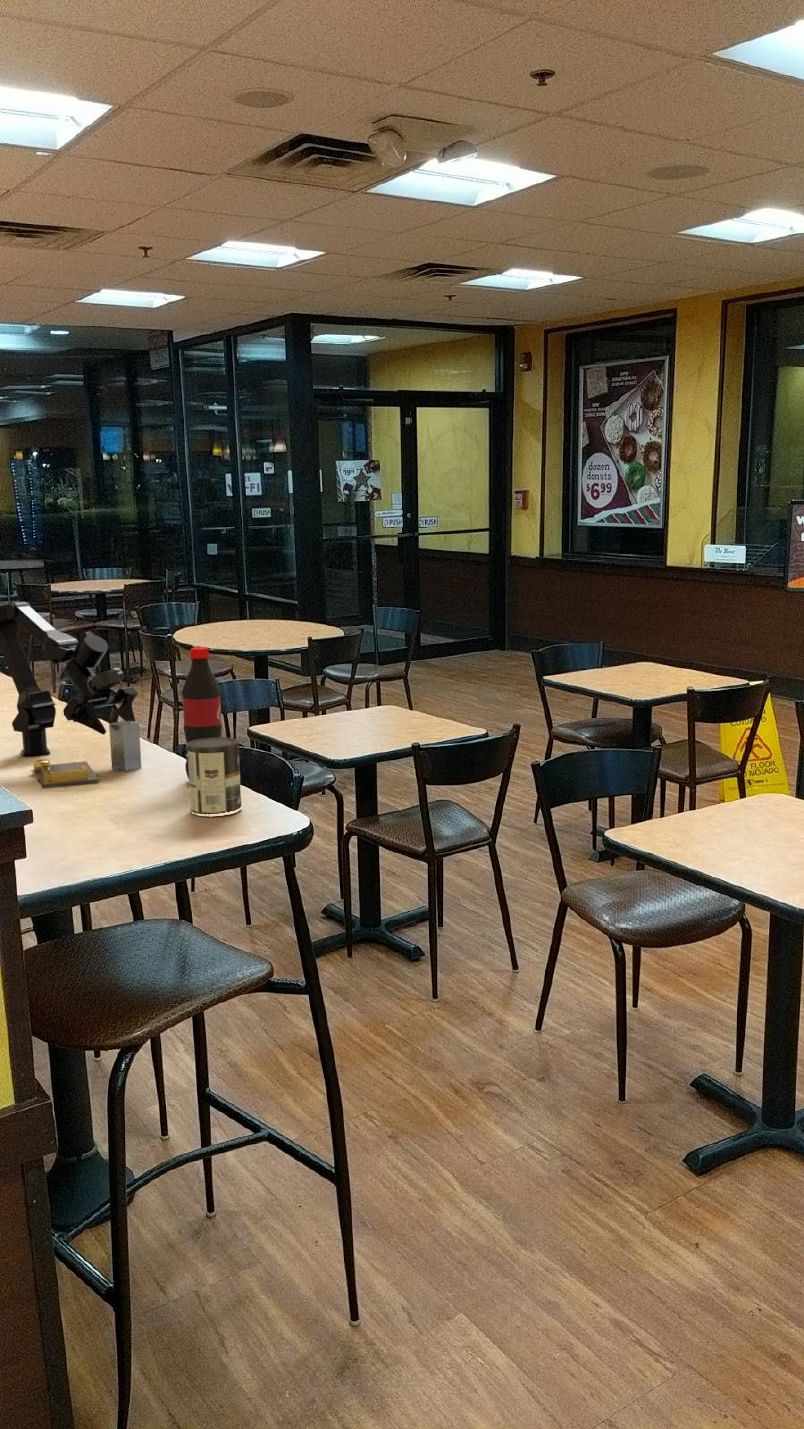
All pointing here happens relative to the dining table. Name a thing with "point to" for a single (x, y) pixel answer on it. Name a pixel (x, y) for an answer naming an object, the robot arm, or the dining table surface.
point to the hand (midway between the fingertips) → (120, 729)
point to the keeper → (63, 773)
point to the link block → (125, 745)
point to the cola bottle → (201, 700)
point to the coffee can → (214, 775)
